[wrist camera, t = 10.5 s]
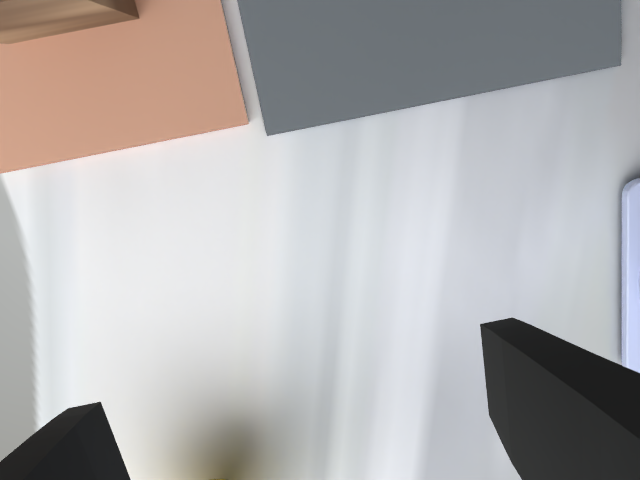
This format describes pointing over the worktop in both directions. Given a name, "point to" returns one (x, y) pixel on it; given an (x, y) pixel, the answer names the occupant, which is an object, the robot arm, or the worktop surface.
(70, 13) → the walnut block
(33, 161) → the tile
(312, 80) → the mat
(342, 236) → the worktop surface
